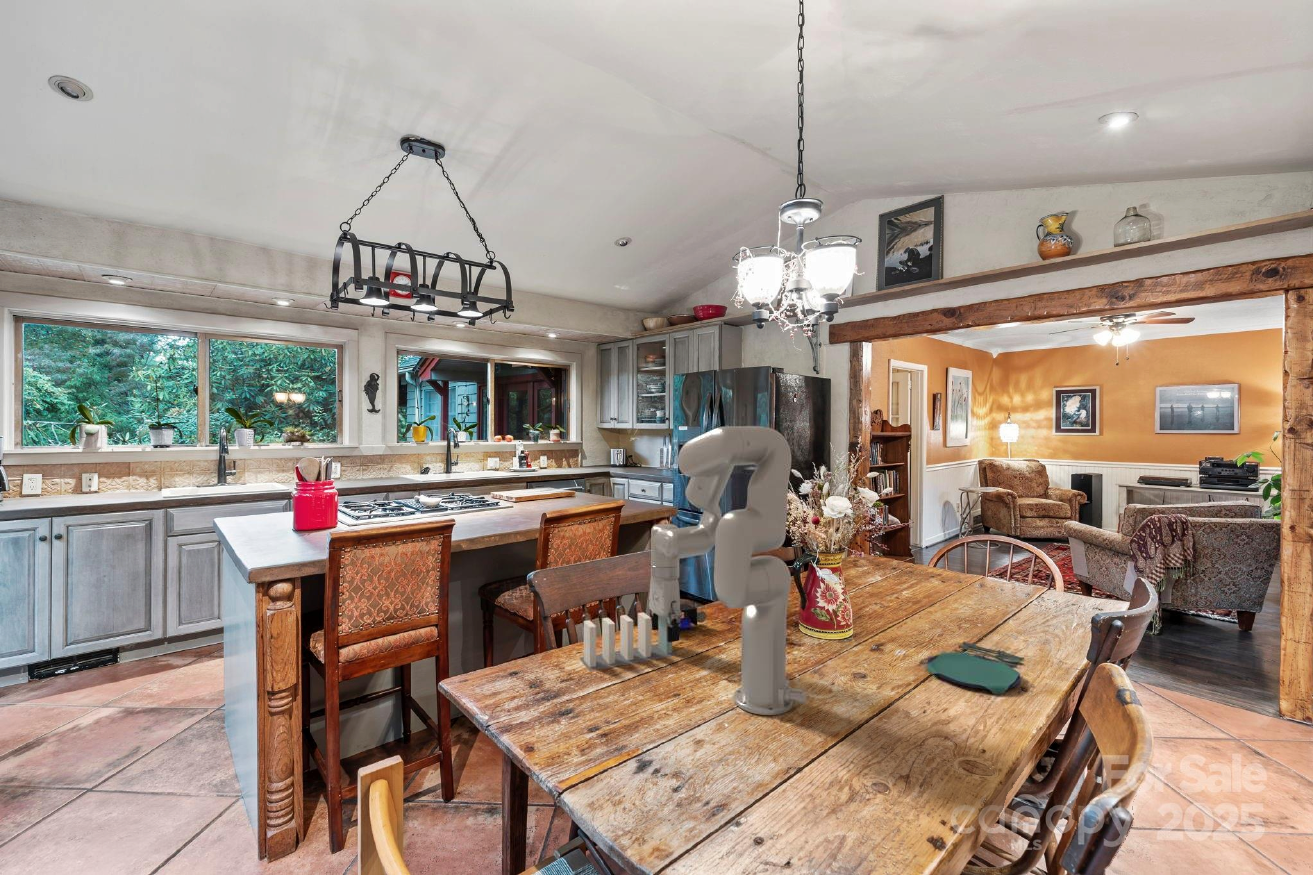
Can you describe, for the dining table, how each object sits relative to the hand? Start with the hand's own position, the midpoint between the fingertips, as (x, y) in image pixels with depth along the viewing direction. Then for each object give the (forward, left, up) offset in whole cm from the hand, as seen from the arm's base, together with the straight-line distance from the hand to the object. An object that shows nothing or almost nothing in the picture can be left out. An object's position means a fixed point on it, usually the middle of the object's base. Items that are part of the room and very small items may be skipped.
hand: (665, 635), depth 155 cm
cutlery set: (-75, -22, -5) cm, 78 cm away
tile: (0, 0, -4) cm, 4 cm away
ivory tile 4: (+14, +16, -4) cm, 21 cm away
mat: (+7, +8, -4) cm, 11 cm away
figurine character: (+3, -17, -5) cm, 18 cm away
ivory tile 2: (+7, +8, -4) cm, 12 cm away
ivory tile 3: (+10, +12, -4) cm, 16 cm away
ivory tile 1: (+4, +5, -4) cm, 7 cm away
